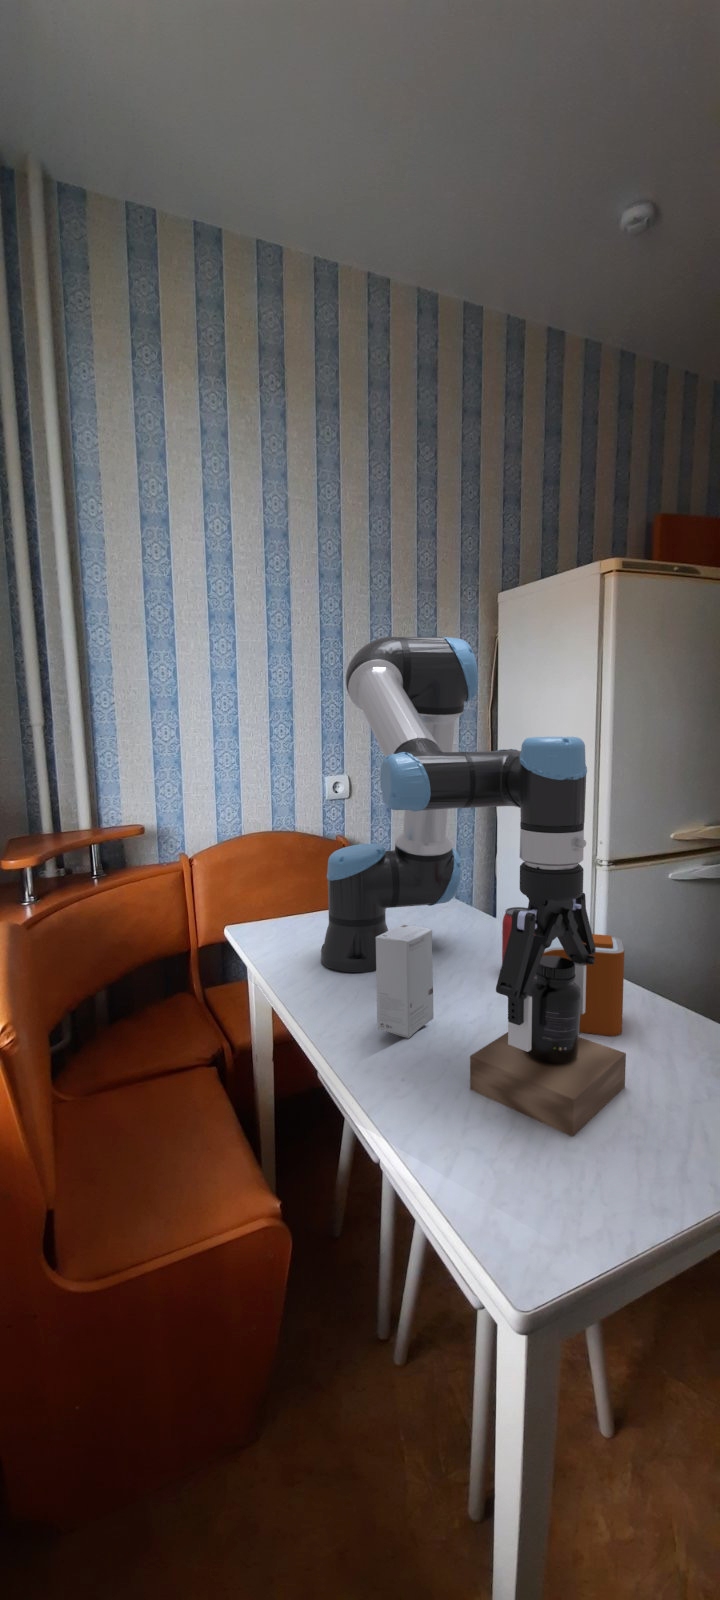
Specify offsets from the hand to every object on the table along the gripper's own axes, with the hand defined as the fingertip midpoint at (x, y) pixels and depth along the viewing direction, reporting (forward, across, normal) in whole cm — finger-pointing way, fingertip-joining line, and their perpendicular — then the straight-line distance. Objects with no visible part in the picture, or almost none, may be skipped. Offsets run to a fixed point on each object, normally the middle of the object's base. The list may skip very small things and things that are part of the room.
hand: (548, 1028), depth 82 cm
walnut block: (+8, 0, 0) cm, 8 cm away
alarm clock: (+8, +20, +7) cm, 23 cm away
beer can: (+8, +31, +23) cm, 39 cm away
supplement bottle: (+4, 0, 0) cm, 4 cm away
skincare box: (+8, +1, +25) cm, 26 cm away
